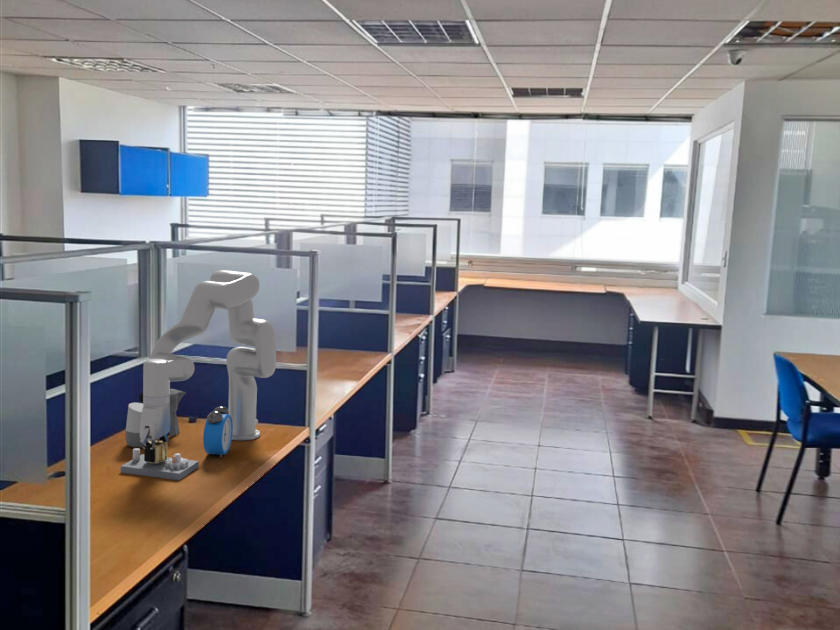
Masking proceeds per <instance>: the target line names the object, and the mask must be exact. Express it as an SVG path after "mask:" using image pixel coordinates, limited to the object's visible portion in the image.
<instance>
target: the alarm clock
mask: <svg viewBox="0 0 840 630" xmlns="http://www.w3.org/2000/svg"><path fill="white" fill-rule="evenodd" d="M228 410H229V408H227V407H226V406H223V405H221V406H217V407H215V408H214V409H213V411H211V412H210V413H208V414H207V417H206V421H205V424H204V428H203V437H202V438H203V439H202V441H203V442H202V444H203V449H204V452H205V453H206V454H208V455H218V456H220V458H222V456H224V455H226V454H228V452H229V450H230V447H231V445H232V441H233V440H232V433H233V423H232V418H231V416H230V415H229V411H228Z"/></svg>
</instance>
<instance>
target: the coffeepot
mask: <svg viewBox="0 0 840 630" xmlns="http://www.w3.org/2000/svg"><path fill="white" fill-rule="evenodd" d="M186 394H187V392H186V391H183V390H178V389H175V388H170V405H169V409H170V425H171V429H170V432H169V436H173V437H175V436H174V435H176V436H178V435H179V434H178V433H180V427H179V420H178V416H177V411H178V407H179V403H180V401H181V399H182V398H183V397H184V396H185V395H186ZM138 399H139V401H140V402H139V403H142V404H143V391H142V392H141V393H140V394H139V396H138ZM177 434H178V435H177Z"/></svg>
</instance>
